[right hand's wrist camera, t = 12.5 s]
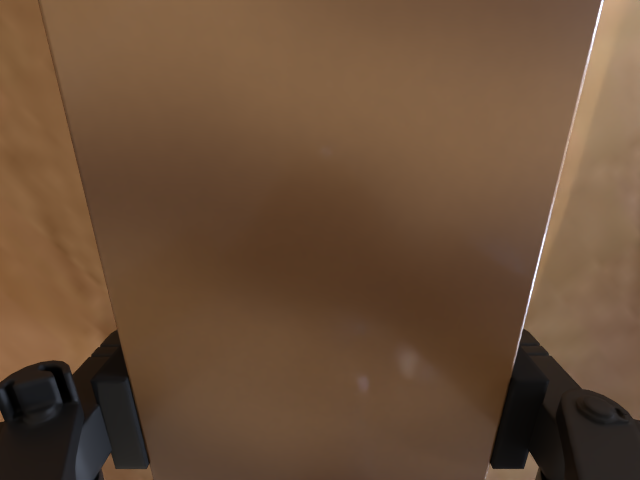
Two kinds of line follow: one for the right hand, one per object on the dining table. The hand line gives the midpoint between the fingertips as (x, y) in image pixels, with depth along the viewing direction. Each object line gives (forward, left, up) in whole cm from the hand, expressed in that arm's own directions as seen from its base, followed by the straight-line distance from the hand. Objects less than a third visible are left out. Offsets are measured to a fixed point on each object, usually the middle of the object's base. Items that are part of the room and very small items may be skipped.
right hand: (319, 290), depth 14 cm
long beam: (+3, -29, -1) cm, 29 cm away
